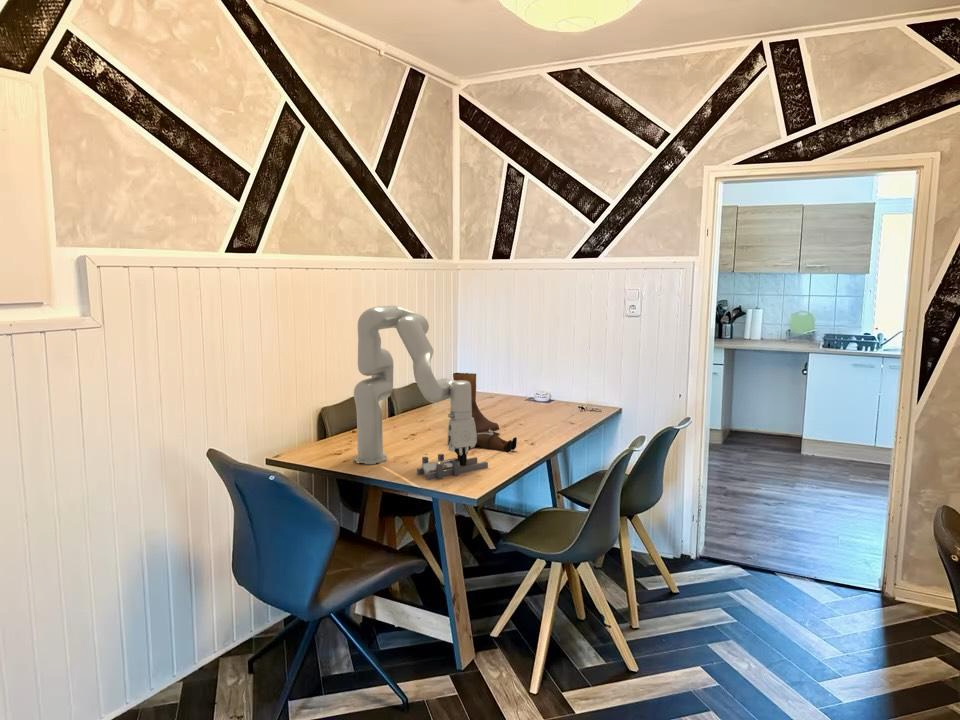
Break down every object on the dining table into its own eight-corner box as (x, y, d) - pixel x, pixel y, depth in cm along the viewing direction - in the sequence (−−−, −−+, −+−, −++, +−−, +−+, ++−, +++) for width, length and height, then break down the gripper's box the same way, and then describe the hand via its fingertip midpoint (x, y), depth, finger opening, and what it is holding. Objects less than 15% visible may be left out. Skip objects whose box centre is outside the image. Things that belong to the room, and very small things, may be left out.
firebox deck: (414, 475, 226) (414, 458, 225) (472, 463, 240) (472, 447, 239) (431, 484, 216) (430, 466, 215) (490, 471, 230) (490, 455, 229)
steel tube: (427, 476, 219) (426, 463, 220) (422, 476, 223) (420, 463, 223) (460, 470, 226) (458, 457, 226) (454, 470, 230) (452, 457, 230)
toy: (499, 447, 243) (435, 427, 257) (497, 470, 245) (433, 450, 259) (527, 432, 263) (466, 415, 277) (525, 453, 265) (464, 435, 279)
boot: (503, 434, 284) (503, 375, 280) (488, 437, 277) (488, 377, 274) (465, 424, 302) (465, 368, 298) (450, 427, 296) (450, 370, 292)
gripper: (448, 419, 219) (450, 471, 222) (484, 414, 228) (485, 463, 230) (437, 416, 226) (439, 466, 228) (472, 410, 234) (473, 459, 236)
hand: (462, 464), depth 229 cm, fingers closed
